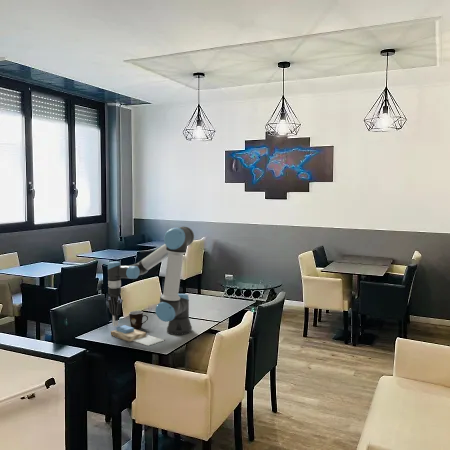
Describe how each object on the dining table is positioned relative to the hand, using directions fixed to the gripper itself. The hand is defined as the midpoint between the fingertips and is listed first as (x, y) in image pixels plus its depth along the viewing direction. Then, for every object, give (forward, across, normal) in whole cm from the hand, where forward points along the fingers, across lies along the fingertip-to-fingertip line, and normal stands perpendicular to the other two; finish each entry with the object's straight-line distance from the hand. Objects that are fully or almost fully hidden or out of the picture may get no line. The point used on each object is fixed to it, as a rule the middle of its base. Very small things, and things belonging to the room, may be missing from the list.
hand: (115, 325), depth 270 cm
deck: (+4, +13, 0) cm, 14 cm away
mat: (+4, +29, +2) cm, 29 cm away
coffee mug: (+4, +5, +13) cm, 15 cm away
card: (+1, +10, 0) cm, 10 cm away
